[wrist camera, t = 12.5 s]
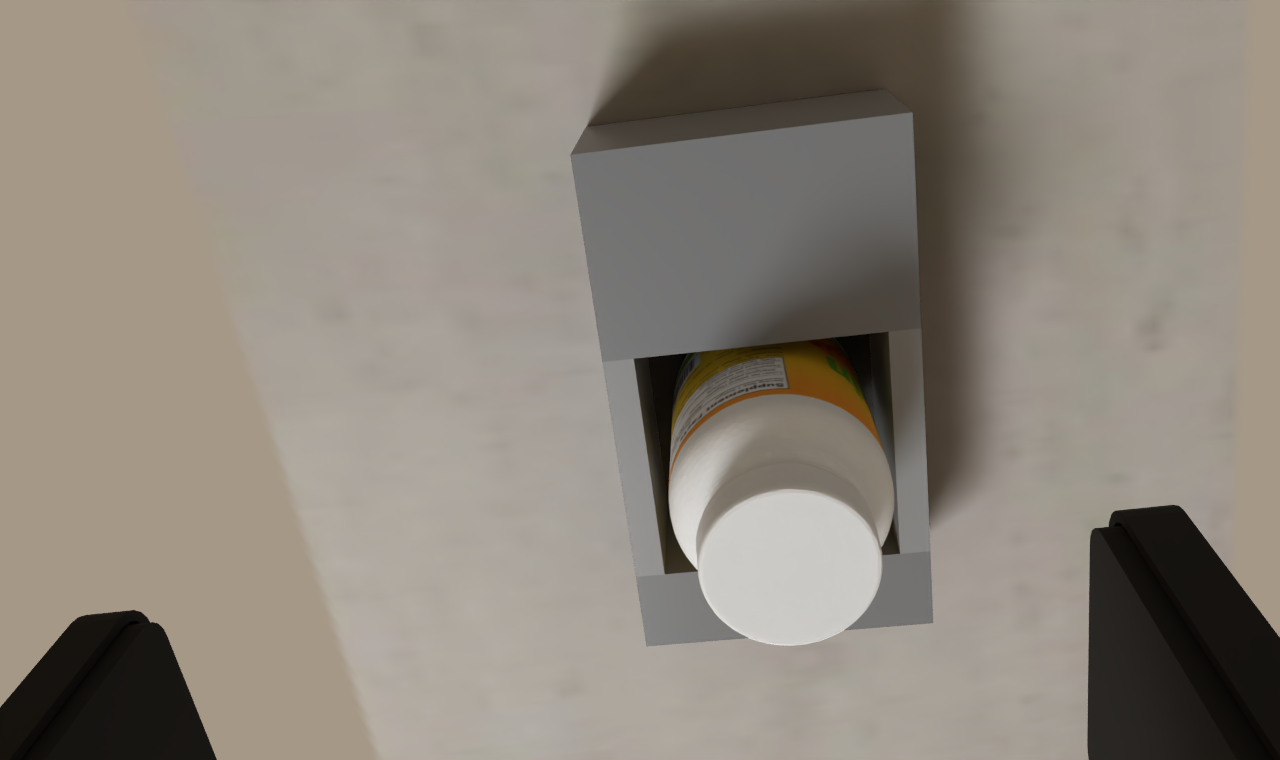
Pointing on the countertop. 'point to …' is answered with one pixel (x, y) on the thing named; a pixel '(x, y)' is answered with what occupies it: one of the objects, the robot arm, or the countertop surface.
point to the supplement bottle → (779, 488)
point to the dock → (757, 299)
